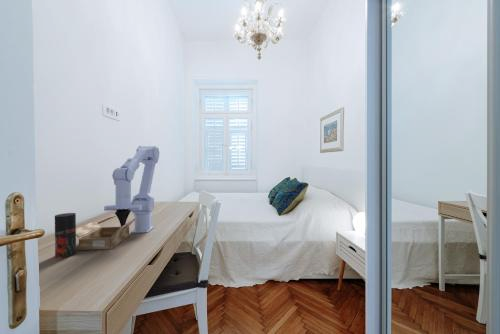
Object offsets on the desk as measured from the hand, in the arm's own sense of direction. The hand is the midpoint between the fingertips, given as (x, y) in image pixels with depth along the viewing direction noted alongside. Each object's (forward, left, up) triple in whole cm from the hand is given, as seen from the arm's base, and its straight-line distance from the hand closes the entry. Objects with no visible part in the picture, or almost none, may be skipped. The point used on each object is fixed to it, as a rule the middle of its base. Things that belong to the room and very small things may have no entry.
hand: (123, 227), depth 94 cm
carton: (0, -7, -7) cm, 10 cm away
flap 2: (0, -1, -2) cm, 2 cm away
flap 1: (0, -13, -2) cm, 13 cm away
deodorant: (+12, -15, -7) cm, 20 cm away
